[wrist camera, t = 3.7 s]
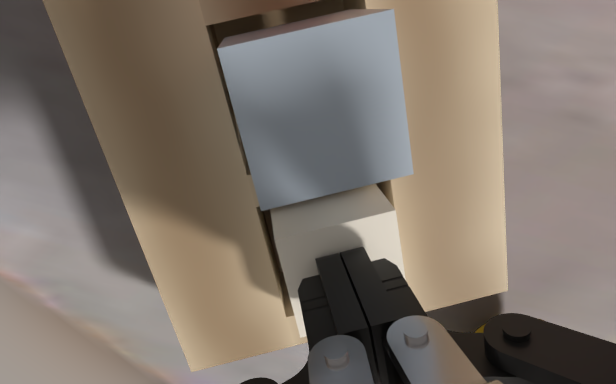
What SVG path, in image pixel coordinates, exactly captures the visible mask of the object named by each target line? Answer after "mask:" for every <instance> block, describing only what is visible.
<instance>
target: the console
mask: <svg viewBox="0 0 616 384" xmlns="http://www.w3.org/2000/svg"><path fill="white" fill-rule="evenodd" d="M42 1H43V3H44V6H45V8H46V11H47V13H48V16H49V18H50V21H51V23H52V26H53V28H54V31H55V33H56V36H57V38H58V41H59V43H60V46H61V48H62V51H63V53H64V55H65V58H66V60H67V63H68V65H69V68H70V70H71V73H72V75H73V78H74V80H75V83H76V85H77V88H78V90H79V93H80V95H81V98H82V100H83V103H84V105H85V108H86V110H87V113H88V115H89V118H90V120H91V123H92V125H93V128H94V130H95V133H96V135H97V138H98V140H99V143H100V145H101V148H102V150H103V153H104V155H105V158H106V160H107V163H108V165H109V168H110V170H111V173H112V175H113V178H114V180H115V183H116V185H117V188H118V190H119V193H120V195H121V198H122V200H123V202H124V205H125V207H126V210H127V212H128V215H129V217H130V220H131V222H132V225H133V227H134V230H135V232H136V235H137V237H138V240H139V242H140V245H141V247H142V250H143V252H144V255H145V257H146V260H147V262H148V265H149V267H150V270H151V272H152V275H153V277H154V280H155V282H156V285H157V287H158V290H159V292H160V295H161V297H162V300H163V302H164V305H165V307H166V310H167V312H168V315H169V317H170V320H171V322H172V325H173V327H174V330H175V332H176V335H177V337H178V340H179V342H180V345H181V347H182V349H183V352H184V354H185V357H186V359H187V362H188V364H189V367H190V369H191V372H194V371H198V370H202V369H206V368H210V367H213V366H217V365H221V364H225V363H229V362H233V361H237V360H241V359H245V358H248V357H252V356H256V355H260V354H264V353H268V352H272V351H276V350H280V349H283V348H287V347H291V346H295V345H299V344H303V343H307V342H308V340H307V336H305V337H302V338H300V334H299V331H298V327H297V323H296V319H295V316H294V312H293V308H292V304H291V301H290V297H289V293H288V289H287V286H286V282H285V278H284V274H283V271H282V267H281V263H280V259H279V256H278V252H277V248H276V244H275V241H274V234H273V226H272V219H271V212H270V209H268V210H264V211H261V209H260V205H259V202H258V198H257V194H256V191H255V187H254V183H253V180H252V176H251V172H250V169H249V165H248V161H247V158H246V154H245V150H244V147H243V143H242V139H241V136H240V132H239V128H238V124H237V121H236V117H235V113H234V110H233V106H232V102H231V99H230V95H229V91H228V88H227V84H226V80H225V77H224V73H223V69H222V66H221V62H220V58H219V55H218V51H217V48H218V47H219V45H220V44H221V42H222V41H223V39H224V38H225V37H229V36H234V35H238V34H243V33H247V32H251V31H256V30H260V29H265V28H269V27H274V26H278V25H283V24H287V23H292V22H296V21H300V20H305V19H309V18H314V17H318V16H323V15H327V14H332V13H336V12H341V11H345V10H349V9H394V14H395V22H396V31H397V39H398V48H399V56H400V64H401V73H402V81H403V89H404V98H405V106H406V114H407V123H408V131H409V139H410V148H411V156H412V164H413V173H414V174H412V175H408V176H404V177H400V178H396V179H392V180H387V181H383V182H379V183H375V184H376V185H377V186H378V188H379V189H380V190H381V191H382V193H383V194H384V195H385V197H386V198H387V199H388V201H389V202H390V203H391V205H392V206H393V207H394V208H395V210H396V215H397V222H398V229H399V237H400V244H401V251H402V258H403V265H404V272H405V279H406V282H407V283H408V286H410V288H411V290H412V291H413V293H414V295H415V296H416V298H417V300H418V301H419V303H420V304H421V306H422V308H423V309H424V311H425V312H427V311H431V310H435V309H439V308H443V307H447V306H451V305H454V304H458V303H462V302H466V301H470V300H474V299H478V298H482V297H486V296H489V295H493V294H497V293H501V292H505V291H508V279H507V251H506V223H505V196H504V168H503V140H502V112H501V84H500V56H499V28H498V0H42Z"/></svg>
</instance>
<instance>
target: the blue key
mask: <svg viewBox="0 0 616 384" xmlns="http://www.w3.org/2000/svg"><path fill="white" fill-rule="evenodd" d="M217 51H218V55H219V58H220V62H221V66H222V69H223V73H224V77H225V80H226V84H227V88H228V91H229V95H230V99H231V102H232V106H233V110H234V113H235V117H236V121H237V124H238V128H239V132H240V136H241V139H242V143H243V147H244V150H245V154H246V158H247V161H248V165H249V169H250V172H251V176H252V180H253V183H254V187H255V191H256V194H257V198H258V202H259V205H260V209H261V211H264V210H268V209H272V208H276V207H280V206H284V205H289V204H293V203H297V202H301V201H305V200H309V199H313V198H317V197H322V196H326V195H330V194H334V193H338V192H342V191H346V190H350V189H354V188H359V187H363V186H367V185H371V184H375V183H379V182H383V181H387V180H392V179H396V178H400V177H404V176H408V175H412V174H414V173H413V164H412V156H411V148H410V139H409V131H408V123H407V114H406V106H405V98H404V89H403V81H402V73H401V64H400V56H399V48H398V39H397V31H396V22H395V14H394V9H349V10H345V11H341V12H336V13H332V14H327V15H323V16H318V17H314V18H309V19H305V20H300V21H296V22H292V23H287V24H283V25H278V26H274V27H269V28H265V29H260V30H256V31H251V32H247V33H243V34H238V35H234V36H229V37H225V38H224V39H223V41H222V42H221V44H220V45H219V47H218V48H217Z"/></svg>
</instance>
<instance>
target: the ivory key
mask: <svg viewBox="0 0 616 384" xmlns="http://www.w3.org/2000/svg"><path fill="white" fill-rule="evenodd" d="M270 212H271V219H272V226H273V234H274V241H275V244H276V248H277V252H278V256H279V259H280V263H281V267H282V271H283V274H284V278H285V282H286V286H287V289H288V293H289V297H290V301H291V304H292V308H293V312H294V316H295V319H296V323H297V327H298V331H299V334H300V338H302V337H305V336H307V335H306V330H305V325H304V320H303V315H302V310H301V305H300V300H299V295H298V288H299V286H300V283H301V281H302V279H304V278H308V277H312V276H316V275H319V273H318V269H317V264H316V260H315V258H319V257H323V256H327V255H331V254H335V253H339V255H340V252H343V251H347V250H351V249H355V248H359V247H364V248H365V250H366V252H367V254H368V256H369V258H370V260H371V261H375V260H379V259H383V258H385V259H387V260H389V261H390V262H392V263H394V264H395V265H397V267H398V268H399V270H400V272H401V273H402V275H403V278H405V272H404V265H403V258H402V251H401V244H400V237H399V229H398V222H397V215H396V210H395V208H394V207H393V206H392V205H391V203H390V202H389V201H388V199H387V198H386V197H385V195H384V194H383V193H382V191H381V190H380V189H379V188H378V186H377V185H376V184H371V185H367V186H363V187H359V188H354V189H350V190H346V191H342V192H338V193H334V194H330V195H326V196H322V197H317V198H313V199H309V200H305V201H301V202H297V203H293V204H289V205H284V206H280V207H276V208H272V209H270ZM340 258H341V257H340ZM405 280H406V279H405Z"/></svg>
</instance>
